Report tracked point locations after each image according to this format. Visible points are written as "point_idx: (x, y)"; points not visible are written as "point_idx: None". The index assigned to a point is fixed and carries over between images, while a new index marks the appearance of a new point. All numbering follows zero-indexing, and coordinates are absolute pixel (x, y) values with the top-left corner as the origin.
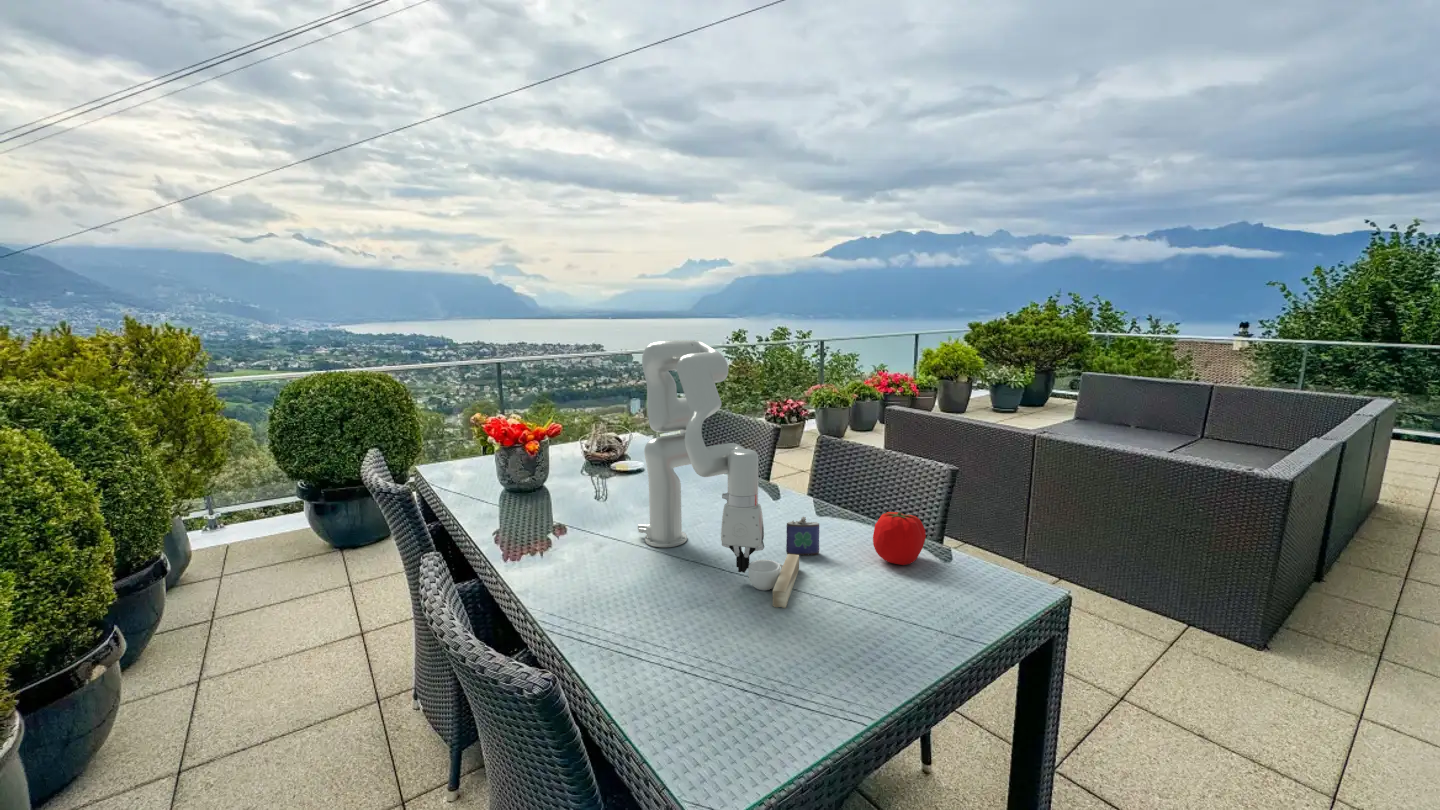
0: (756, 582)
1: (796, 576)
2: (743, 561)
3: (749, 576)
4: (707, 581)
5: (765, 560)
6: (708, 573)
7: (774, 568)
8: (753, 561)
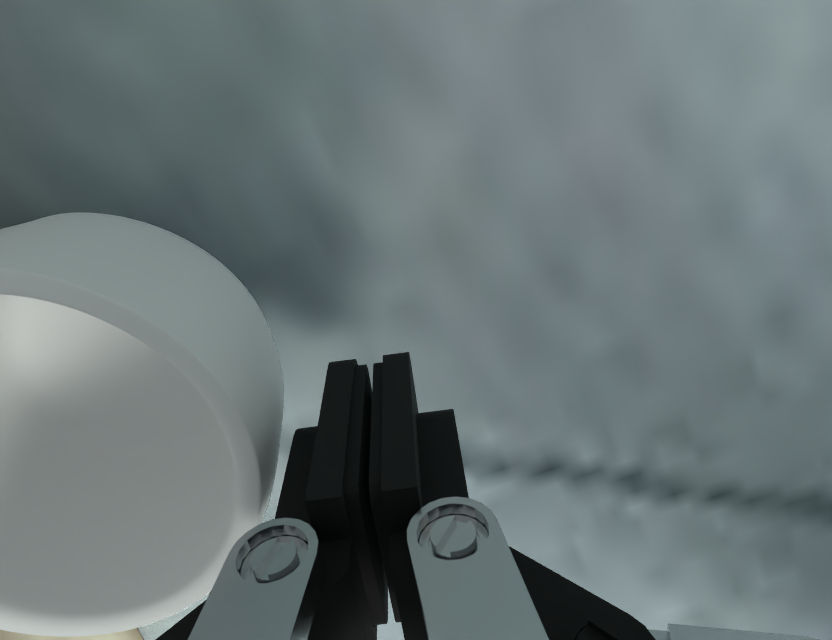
0: (97, 220)
1: None
2: (329, 455)
3: (226, 296)
4: (730, 223)
5: (125, 613)
6: (752, 379)
7: (23, 538)
8: None
